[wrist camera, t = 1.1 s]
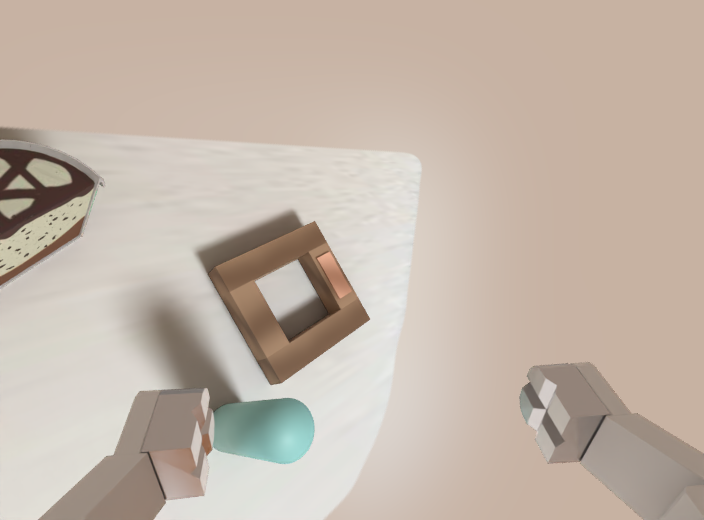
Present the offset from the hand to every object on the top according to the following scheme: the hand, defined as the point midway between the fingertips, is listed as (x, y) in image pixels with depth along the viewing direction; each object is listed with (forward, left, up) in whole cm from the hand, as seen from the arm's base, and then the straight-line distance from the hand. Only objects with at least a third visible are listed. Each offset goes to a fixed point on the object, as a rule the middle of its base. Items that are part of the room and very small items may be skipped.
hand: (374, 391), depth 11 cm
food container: (-17, -4, -31) cm, 36 cm away
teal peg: (+5, +4, -31) cm, 31 cm away
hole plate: (-2, +15, -31) cm, 34 cm away
